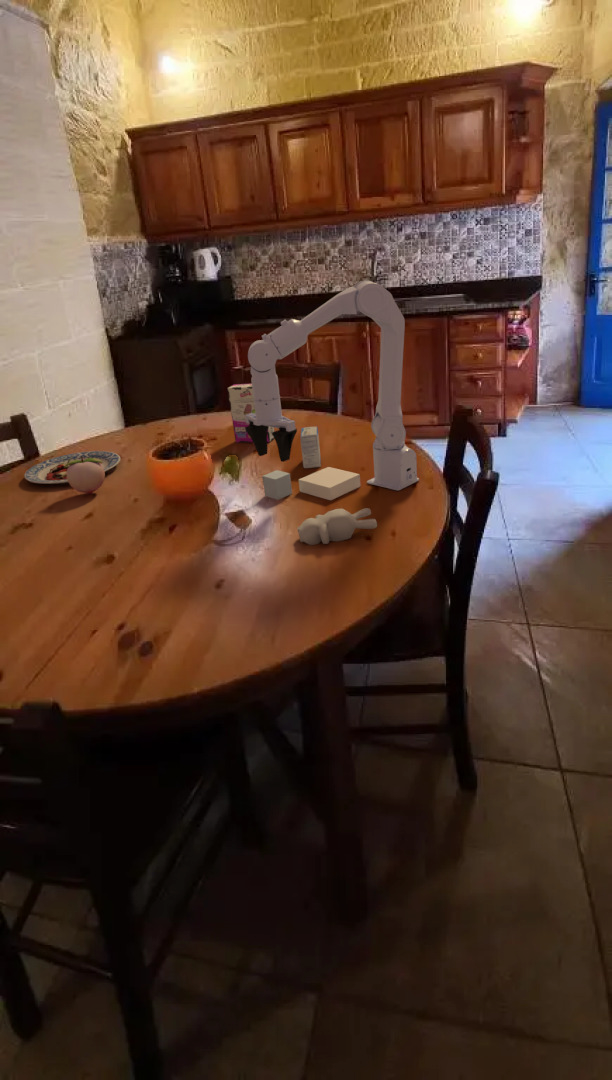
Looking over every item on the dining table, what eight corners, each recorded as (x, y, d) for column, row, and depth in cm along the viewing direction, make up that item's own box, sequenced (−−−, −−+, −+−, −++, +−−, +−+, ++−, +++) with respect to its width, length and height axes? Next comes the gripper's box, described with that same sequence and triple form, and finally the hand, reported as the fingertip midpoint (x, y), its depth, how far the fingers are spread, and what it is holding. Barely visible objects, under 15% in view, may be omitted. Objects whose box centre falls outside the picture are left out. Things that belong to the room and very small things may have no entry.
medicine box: (320, 467, 167) (317, 434, 164) (303, 469, 168) (300, 436, 164) (320, 457, 175) (317, 425, 171) (303, 459, 175) (300, 427, 171)
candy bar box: (275, 437, 195) (269, 382, 188) (270, 442, 191) (263, 386, 184) (241, 437, 199) (233, 383, 192) (234, 442, 194) (226, 387, 188)
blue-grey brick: (292, 493, 153) (289, 473, 151) (277, 500, 150) (275, 479, 148) (279, 490, 156) (276, 470, 154) (265, 496, 153) (262, 475, 151)
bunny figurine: (293, 514, 132) (366, 496, 132) (299, 537, 134) (371, 519, 134) (298, 533, 123) (376, 514, 123) (304, 557, 125) (380, 538, 125)
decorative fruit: (73, 503, 161) (62, 464, 156) (70, 493, 168) (60, 455, 163) (111, 495, 164) (102, 456, 159) (107, 485, 171) (99, 448, 166)
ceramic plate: (127, 476, 176) (125, 466, 175) (26, 497, 169) (23, 486, 167) (115, 452, 198) (113, 442, 197) (26, 470, 191) (23, 460, 189)
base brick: (360, 486, 153) (359, 474, 151) (330, 500, 147) (329, 487, 145) (329, 478, 159) (328, 466, 158) (299, 491, 153) (298, 479, 152)
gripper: (231, 398, 146) (240, 457, 152) (275, 406, 136) (282, 468, 142) (255, 391, 150) (263, 448, 156) (299, 398, 140) (305, 458, 146)
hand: (273, 457), depth 149 cm, fingers open, 7 cm apart
